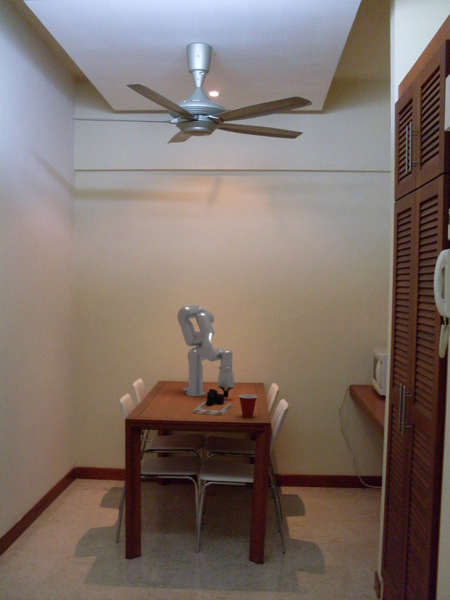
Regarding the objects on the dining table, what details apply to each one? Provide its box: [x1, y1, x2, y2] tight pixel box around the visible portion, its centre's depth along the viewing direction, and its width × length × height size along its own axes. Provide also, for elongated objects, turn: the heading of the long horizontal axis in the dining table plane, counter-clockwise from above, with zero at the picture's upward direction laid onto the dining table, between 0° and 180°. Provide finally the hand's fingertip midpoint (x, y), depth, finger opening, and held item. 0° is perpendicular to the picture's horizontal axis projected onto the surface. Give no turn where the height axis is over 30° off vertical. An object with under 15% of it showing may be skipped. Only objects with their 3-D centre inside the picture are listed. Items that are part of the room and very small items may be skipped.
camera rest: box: [192, 400, 232, 416], centre depth 324 cm, size 17×22×2 cm
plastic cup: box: [238, 394, 258, 418], centre depth 311 cm, size 11×11×12 cm
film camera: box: [206, 388, 225, 407], centre depth 340 cm, size 15×10×9 cm, turn 168°
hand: (225, 397), depth 353 cm, fingers closed
